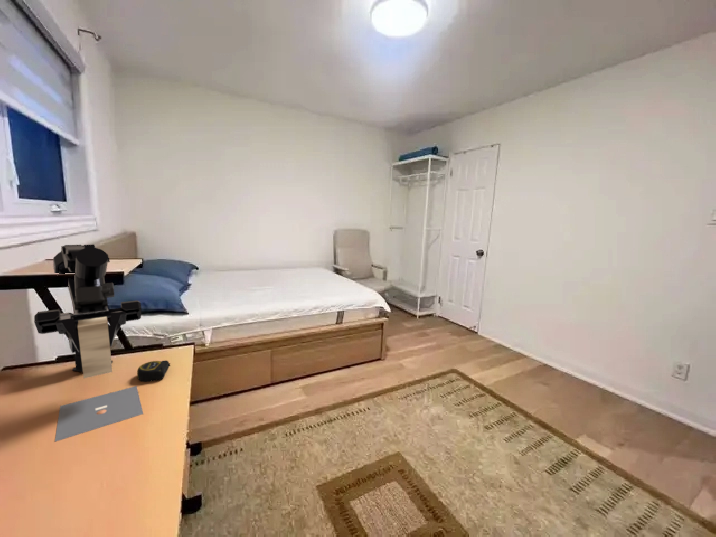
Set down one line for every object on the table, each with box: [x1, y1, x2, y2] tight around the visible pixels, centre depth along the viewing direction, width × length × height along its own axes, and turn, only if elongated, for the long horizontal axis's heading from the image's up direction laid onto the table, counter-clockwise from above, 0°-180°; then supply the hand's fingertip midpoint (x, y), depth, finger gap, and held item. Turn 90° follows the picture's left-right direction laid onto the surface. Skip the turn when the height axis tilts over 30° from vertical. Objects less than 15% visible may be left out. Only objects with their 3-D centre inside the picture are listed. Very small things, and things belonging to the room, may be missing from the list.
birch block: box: [78, 317, 113, 379], centre depth 71 cm, size 5×5×12 cm
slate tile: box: [54, 385, 144, 442], centre depth 69 cm, size 14×14×1 cm
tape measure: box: [136, 359, 171, 383], centre depth 83 cm, size 7×7×4 cm
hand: (95, 348), depth 70 cm, fingers closed on birch block, 5 cm apart
